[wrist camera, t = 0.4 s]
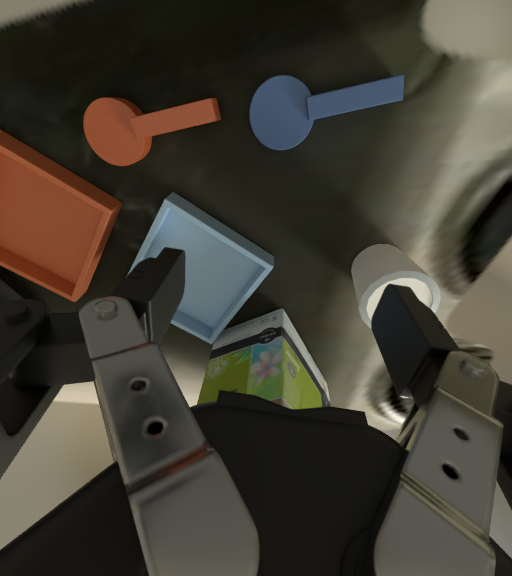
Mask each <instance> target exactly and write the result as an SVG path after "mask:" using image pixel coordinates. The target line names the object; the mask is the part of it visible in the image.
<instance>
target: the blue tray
mask: <svg viewBox="0 0 512 576" xmlns="http://www.w3.org/2000/svg"><path fill="white" fill-rule="evenodd" d="M164 247H169V248H175V249H181V250H185V255H186V261H185V289H184V294H183V298H182V300H181V302H180V304H179V306H178V308H177V310H176V312H175V315H174V317H173V319H172V321H171V323H172V324H173V325H175V326H177V327H179V328H181V329H183V330H185V331H187V332H189V333H191V334H193V335H195V336H197V337H198V338H200V339H202V340H204V341H206V342H208V343H210V344H212V343H213V342H214V340H215V339H216V338H217V337H218V335H219V334H220V333H221V332H222V330H223V329H224V328H225V327H226V325H227V324H228V323H229V322H230V320H231V319H232V318H233V317H234V315H235V314H236V313H237V312H238V310H239V309H240V308H241V307H242V306H243V304H244V303H245V302H246V301H247V299H248V298H249V297H250V296H251V294H252V293H253V292H254V291H255V289H256V288H257V287H258V286H259V284H260V283H261V282H262V281H263V279H264V278H265V277H266V276H267V274H268V273H269V272H270V271H271V270H272V268H273V265H274V256H272V255H271V254H269V253H268V252H266V251H265V250H263V249H262V248H260V247H258V246H257V245H255V244H254V243H252V242H251V241H249V240H247V239H246V238H244V237H243V236H241V235H240V234H238V233H237V232H235V231H233V230H232V229H230V228H229V227H227V226H226V225H224V224H222V223H221V222H219V221H218V220H216V219H215V218H213V217H212V216H210V215H208V214H207V213H205V212H204V211H202V210H201V209H199V208H198V207H196V206H194V205H193V204H191V203H190V202H188V201H187V200H185V199H183V198H182V197H180V196H179V195H177V194H176V193H174V192H172V193H171V194H170V195H169V196H168V197H166V198H165V199H164V201H163V204H162V206H161V208H160V210H159V212H158V214H157V216H156V218H155V220H154V222H153V224H152V226H151V228H150V230H149V232H148V234H147V236H146V238H145V240H144V242H143V244H142V246H141V248H140V250H139V253H138V255H137V257H136V259H135V261H134V263H133V265H132V267H131V269H130V271H129V273H130V272H131V271H132V270H133V268H134V267H135V266H136V265H137V264H138V263H139V262H141V261H143V260H144V259H146V258H148V257H152V258H156V257H157V256H158V255H159V254H160V252H161V251H162V250H163V248H164ZM129 273H128V274H129Z"/></svg>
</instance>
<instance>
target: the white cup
mask: <svg viewBox="0 0 512 576" xmlns="http://www.w3.org/2000/svg"><path fill="white" fill-rule="evenodd" d="M351 274H352V278H353V283H354V288H355V293H356V297H357V302H358V307H359V311H360V314H361V318H362V320H363V321H364V322H365V323H366V324H367V325H368V326H369V327H370V328H371V320H372V316H373V313H374V311H375V309H376V307H377V305H378V302H379V300H380V298H381V296H382V294H383V291H384V289H385V287H386V286H387V285H388V284H395V285H401V286H408V287H410V288H411V289H412V290H413V292H414V293H415V295H416V296H417V298H418V299H419V301H421V302H423V303H424V304H425V305H426V306H428V307H429V308H430V309H431V310H432V311H433V312H434V313H435V312H436V310H437V307H438V305H439V302H440V300H441V299H440V290H439V287H438V285H437V284H436V283H435V282H434V280H433V279H432V278H431V277H430V276H429V275H428V274H427V273H426V272H425V271H423V270H422V269H421V268H420V267H419V266H418V265H417V264H415V263H414V262H413V261H412V260H411V259H410V258H409V257H408V256H406V255H405V254H404V253H403V252H402V251H401V250H400V249H399V248H397V247H394V246H392V245H390V244H376V245H373V246H370V247H367V248H366V249H364V250H363V251H362V252H360V253H359V254H358V255H357V257H356V258H355V260H354V261H353V263H352V268H351ZM371 329H372V328H371Z"/></svg>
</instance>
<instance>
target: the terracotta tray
mask: <svg viewBox="0 0 512 576" xmlns="http://www.w3.org/2000/svg"><path fill="white" fill-rule="evenodd" d="M122 204H123V203H122V202H120V201H119V200H117V199H115V198H114V197H112V196H110V195H109V194H107V193H105V192H104V191H102V190H100V189H99V188H97V187H95V186H94V185H92V184H90V183H89V182H87V181H85V180H84V179H82V178H80V177H79V176H77V175H75V174H74V173H72V172H70V171H69V170H67V169H65V168H64V167H62V166H60V165H59V164H57V163H56V162H54V161H52V160H51V159H49V158H47V157H46V156H44V155H42V154H41V153H39V152H37V151H36V150H34V149H32V148H31V147H29V146H27V145H26V144H24V143H22V142H21V141H19V140H17V139H16V138H14V137H12V136H11V135H9V134H7V133H6V132H4V131H2V130H1V129H0V265H1V266H3V267H5V268H7V269H9V270H11V271H13V272H15V273H17V274H19V275H21V276H23V277H25V278H27V279H29V280H31V281H33V282H35V283H37V284H39V285H41V286H43V287H45V288H47V289H49V290H51V291H53V292H55V293H57V294H59V295H61V296H63V297H65V298H67V299H69V300H71V301H73V302H76V301H77V300H78V299H79V298H80V297H81V296H82V295H83V294H84V293H85V292H86V291H87V289H88V286H89V284H90V281H91V279H92V277H93V274H94V272H95V269H96V267H97V264H98V262H99V260H100V257H101V255H102V252H103V250H104V247H105V245H106V243H107V240H108V238H109V235H110V233H111V231H112V228H113V226H114V223H115V221H116V218H117V216H118V214H119V211H120V209H121V206H122Z"/></svg>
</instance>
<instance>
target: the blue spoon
mask: <svg viewBox="0 0 512 576" xmlns="http://www.w3.org/2000/svg"><path fill="white" fill-rule="evenodd" d="M403 86H404V75H403V74H402V75H397V76H392V77H388V78H384V79H380V80H375V81H371V82H367V83H363V84H358V85H354V86H350V87H346V88H341V89H337V90H333V91H329V92H324V93H320V94H316V95H311V93H310V91H309V89H308V88H307V87H306V85H305V84H304V83H303V82H302V81H300V80H299V79H297V78H295V77H293V76H289V75H278V76H274V77H271V78H269V79H268V80H266V81H265V82H263V83H262V84H261V85H260V86H259V88H258V89H257V90H256V92H255V93H254V96H253V98H252V101H251V104H250V110H249V118H250V124H251V128H252V130H253V132H254V134H255V136H256V137H257V139H258V140H259V141H260V142H261V143H262V144H263V145H265V146H267V147H269V148H271V149H274V150H287V149H290V148H293V147H295V146H296V145H298V144H299V143H301V142H302V141H303V140H304V139H305V137H306V136H307V135H308V133H309V131H310V129H311V127H312V124H313V121H314V119H319V118H323V117H328V116H332V115H337V114H341V113H346V112H350V111H355V110H359V109H364V108H368V107H373V106H377V105H382V104H386V103H391V102H395V101H400V100H403Z"/></svg>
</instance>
